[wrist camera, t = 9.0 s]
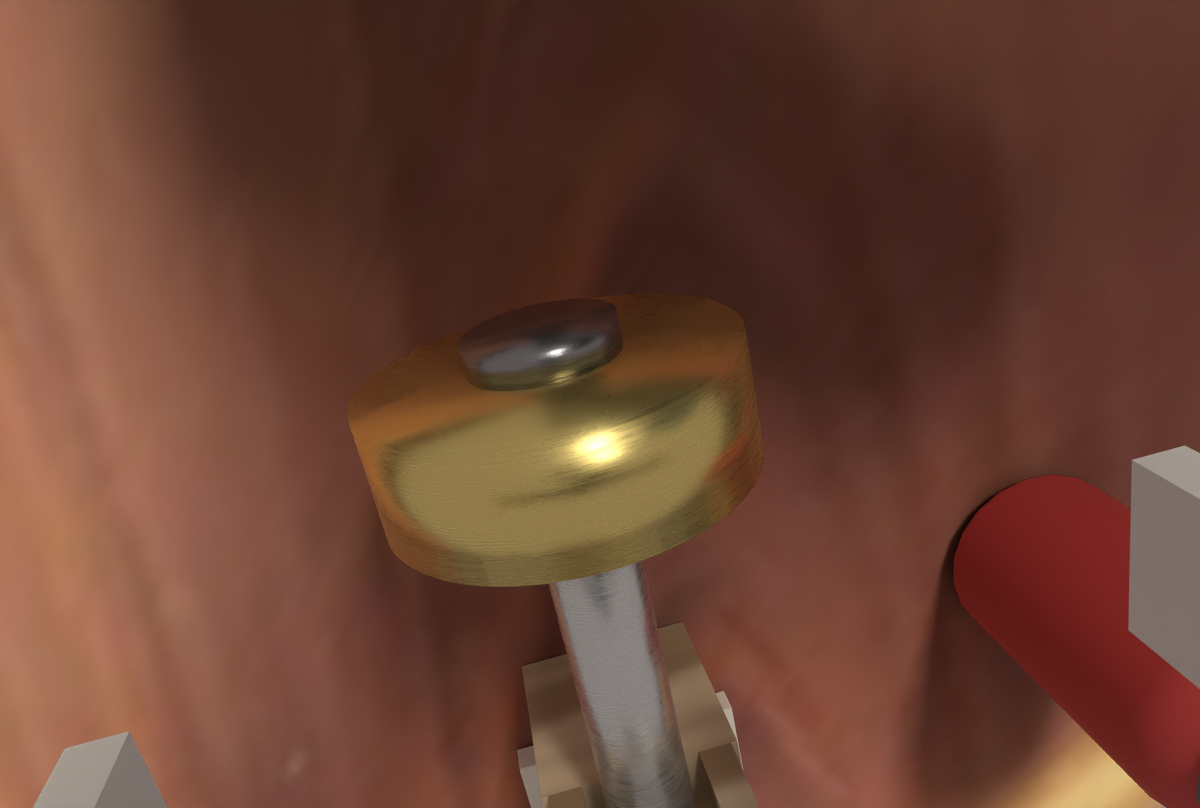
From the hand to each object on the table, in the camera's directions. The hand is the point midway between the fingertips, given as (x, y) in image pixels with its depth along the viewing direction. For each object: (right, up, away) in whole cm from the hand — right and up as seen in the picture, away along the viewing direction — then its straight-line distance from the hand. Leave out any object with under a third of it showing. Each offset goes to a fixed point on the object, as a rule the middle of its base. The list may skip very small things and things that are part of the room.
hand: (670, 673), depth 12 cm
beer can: (+15, -2, +23) cm, 28 cm away
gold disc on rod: (-1, -1, +16) cm, 16 cm away
